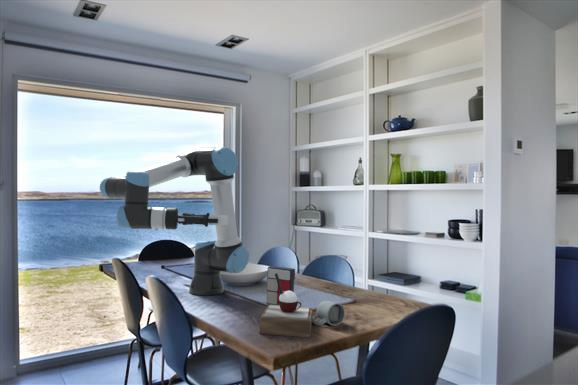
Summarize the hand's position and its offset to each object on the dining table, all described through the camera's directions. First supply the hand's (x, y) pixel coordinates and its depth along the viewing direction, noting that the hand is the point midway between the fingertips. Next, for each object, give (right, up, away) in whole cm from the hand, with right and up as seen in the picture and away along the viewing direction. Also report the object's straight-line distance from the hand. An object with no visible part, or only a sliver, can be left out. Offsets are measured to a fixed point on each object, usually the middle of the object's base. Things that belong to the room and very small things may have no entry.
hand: (227, 219), depth 146 cm
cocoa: (+21, -30, -7) cm, 38 cm away
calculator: (+18, -36, +22) cm, 46 cm away
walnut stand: (+21, -36, -8) cm, 42 cm away
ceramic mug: (+35, -37, -1) cm, 51 cm away
